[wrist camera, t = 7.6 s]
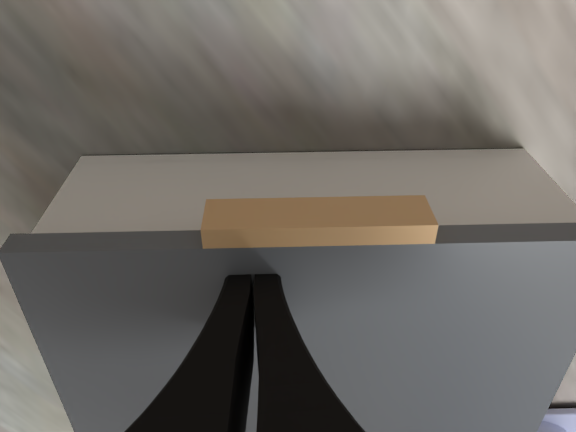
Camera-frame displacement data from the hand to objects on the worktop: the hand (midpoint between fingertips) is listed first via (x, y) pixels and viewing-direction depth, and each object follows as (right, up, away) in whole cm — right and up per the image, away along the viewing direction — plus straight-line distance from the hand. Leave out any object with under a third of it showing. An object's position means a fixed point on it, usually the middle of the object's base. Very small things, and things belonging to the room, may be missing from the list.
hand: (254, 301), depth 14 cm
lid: (+2, -2, +4) cm, 5 cm away
